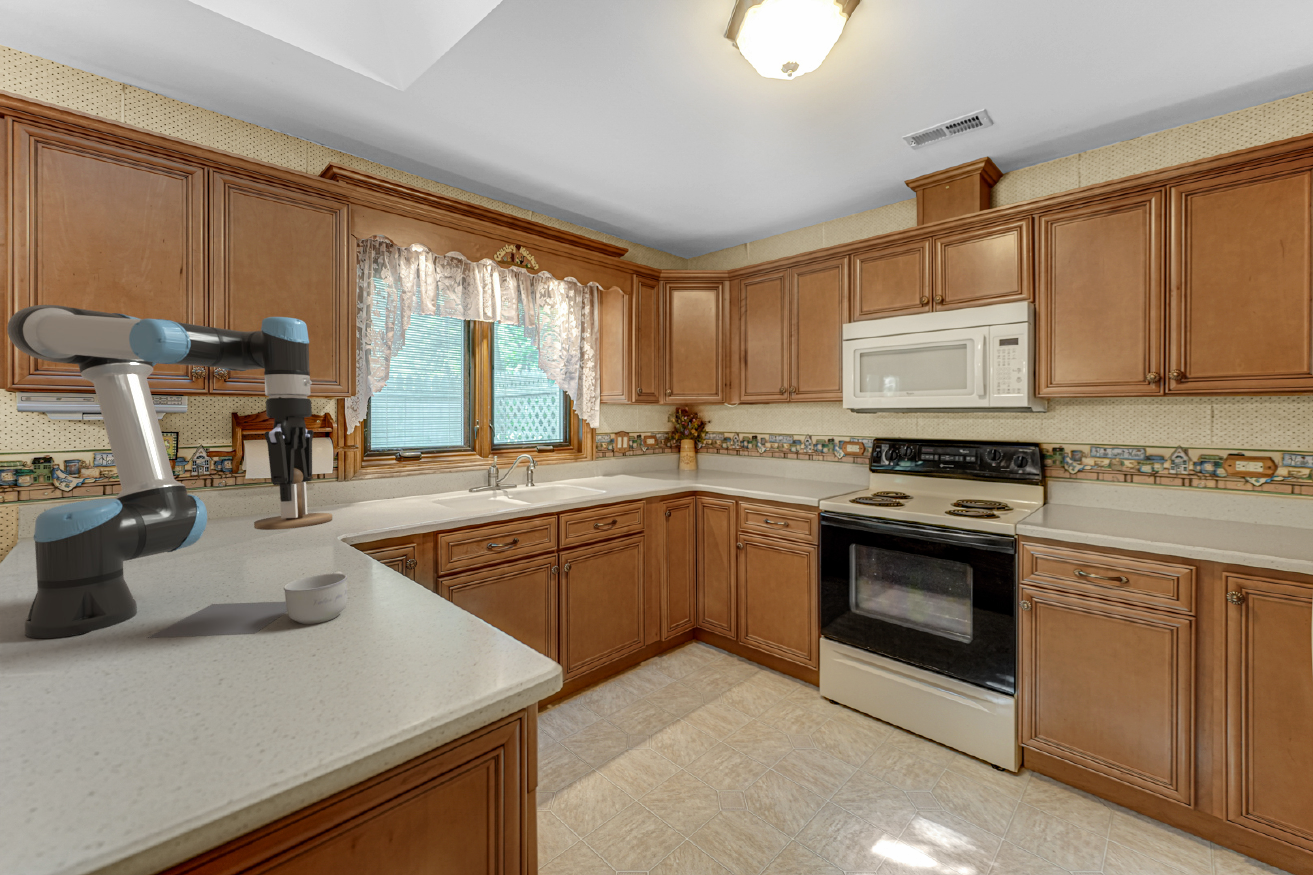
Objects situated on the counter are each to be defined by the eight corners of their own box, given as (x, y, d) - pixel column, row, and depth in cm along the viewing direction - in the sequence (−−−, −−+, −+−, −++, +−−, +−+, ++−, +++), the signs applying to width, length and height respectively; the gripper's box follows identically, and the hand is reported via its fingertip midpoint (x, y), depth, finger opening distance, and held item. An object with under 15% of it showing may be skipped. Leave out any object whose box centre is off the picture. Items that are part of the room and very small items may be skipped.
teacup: (319, 631, 105) (318, 589, 105) (270, 627, 107) (269, 585, 107) (371, 606, 119) (370, 569, 118) (326, 603, 121) (326, 566, 121)
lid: (238, 531, 104) (235, 472, 104) (278, 519, 117) (275, 466, 116) (313, 527, 105) (310, 469, 105) (343, 516, 118) (341, 464, 118)
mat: (146, 640, 101) (146, 637, 101) (212, 605, 119) (212, 603, 119) (254, 635, 103) (254, 633, 103) (303, 602, 121) (303, 600, 121)
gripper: (286, 395, 103) (292, 522, 103) (328, 398, 119) (333, 508, 119) (242, 396, 102) (249, 524, 103) (290, 399, 118) (296, 510, 119)
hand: (294, 515), depth 111 cm, fingers closed on lid, 3 cm apart
